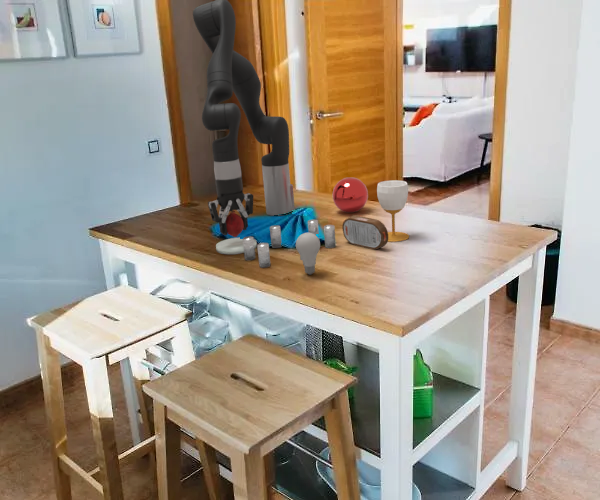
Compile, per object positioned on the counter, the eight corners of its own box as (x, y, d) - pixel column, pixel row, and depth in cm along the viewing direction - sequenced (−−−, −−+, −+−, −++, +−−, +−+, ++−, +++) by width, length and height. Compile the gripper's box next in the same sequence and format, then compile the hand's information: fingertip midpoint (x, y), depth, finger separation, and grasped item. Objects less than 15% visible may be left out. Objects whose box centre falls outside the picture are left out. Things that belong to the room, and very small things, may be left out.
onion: (241, 240, 173) (238, 213, 171) (222, 240, 175) (219, 213, 172) (247, 233, 179) (244, 208, 176) (228, 234, 180) (225, 208, 177)
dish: (244, 238, 186) (244, 234, 185) (264, 247, 176) (264, 243, 176) (209, 247, 179) (208, 244, 179) (228, 257, 170) (227, 253, 169)
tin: (389, 249, 166) (388, 220, 164) (382, 252, 164) (381, 223, 162) (348, 240, 177) (347, 212, 174) (341, 243, 175) (339, 215, 172)
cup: (412, 233, 178) (412, 180, 173) (404, 243, 170) (403, 187, 165) (383, 231, 182) (381, 179, 177) (374, 240, 174) (372, 186, 169)
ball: (374, 208, 207) (373, 174, 203) (359, 218, 198) (357, 182, 194) (343, 206, 213) (341, 173, 209) (327, 215, 204) (325, 180, 200)
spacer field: (308, 235, 184) (307, 216, 182) (345, 249, 169) (344, 228, 167) (236, 255, 171) (234, 235, 169) (269, 271, 156) (267, 250, 154)
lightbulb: (297, 271, 155) (294, 230, 152) (320, 269, 156) (318, 228, 152) (299, 279, 150) (295, 237, 146) (323, 277, 150) (320, 235, 146)
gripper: (243, 169, 177) (249, 224, 183) (199, 178, 170) (206, 234, 175) (256, 172, 171) (262, 229, 177) (211, 182, 164) (218, 240, 169)
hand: (234, 231), depth 176 cm, fingers closed on onion, 6 cm apart
